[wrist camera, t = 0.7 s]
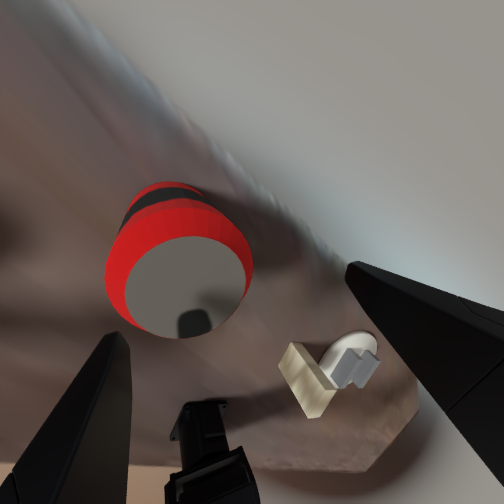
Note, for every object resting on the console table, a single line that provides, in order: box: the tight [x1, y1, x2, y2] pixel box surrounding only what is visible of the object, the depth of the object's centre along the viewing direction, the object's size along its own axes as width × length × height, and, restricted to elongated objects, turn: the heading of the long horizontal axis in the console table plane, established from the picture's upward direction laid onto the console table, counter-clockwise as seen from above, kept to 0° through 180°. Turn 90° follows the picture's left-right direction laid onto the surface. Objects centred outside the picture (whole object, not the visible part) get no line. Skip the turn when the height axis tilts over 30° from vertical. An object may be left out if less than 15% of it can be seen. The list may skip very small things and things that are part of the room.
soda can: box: [104, 182, 253, 339], centre depth 16 cm, size 8×8×12 cm
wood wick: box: [278, 342, 337, 418], centre depth 32 cm, size 4×2×8 cm, turn 155°
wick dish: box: [318, 331, 381, 389], centre depth 40 cm, size 12×12×4 cm
